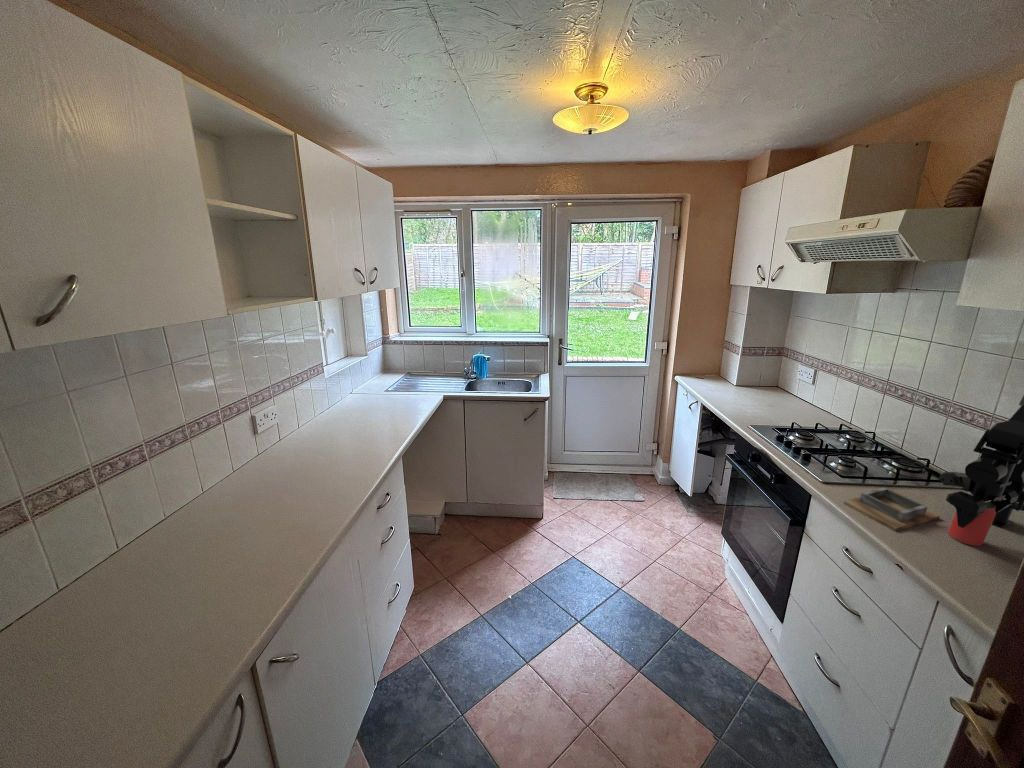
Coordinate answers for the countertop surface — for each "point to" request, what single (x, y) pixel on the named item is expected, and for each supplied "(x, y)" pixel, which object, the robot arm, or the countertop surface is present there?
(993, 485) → the robot arm
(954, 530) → the beer can
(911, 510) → the can holder
